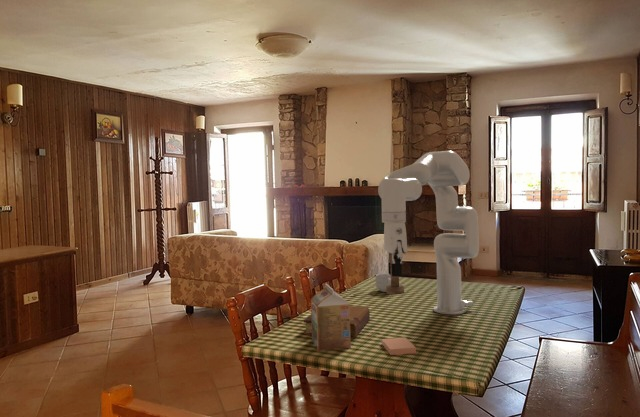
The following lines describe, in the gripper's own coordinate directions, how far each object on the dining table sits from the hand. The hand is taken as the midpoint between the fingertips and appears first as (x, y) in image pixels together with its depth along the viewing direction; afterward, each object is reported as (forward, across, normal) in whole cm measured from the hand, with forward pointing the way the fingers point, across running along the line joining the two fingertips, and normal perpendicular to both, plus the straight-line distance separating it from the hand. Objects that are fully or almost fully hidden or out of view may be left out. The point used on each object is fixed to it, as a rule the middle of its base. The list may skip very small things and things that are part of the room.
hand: (395, 274), depth 149 cm
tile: (+22, +3, 0) cm, 23 cm away
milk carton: (+23, +7, +20) cm, 32 cm away
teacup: (+23, +77, -20) cm, 83 cm away
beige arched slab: (+24, +25, +14) cm, 37 cm away
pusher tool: (+6, 0, 0) cm, 6 cm away
